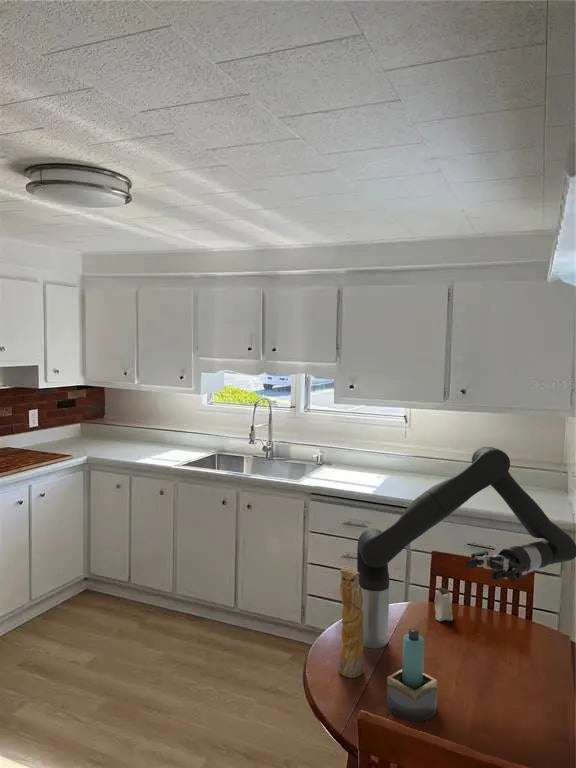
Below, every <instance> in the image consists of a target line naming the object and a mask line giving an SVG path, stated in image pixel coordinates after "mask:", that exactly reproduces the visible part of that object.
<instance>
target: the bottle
mask: <svg viewBox="0 0 576 768" xmlns="http://www.w3.org/2000/svg"><path fill="white" fill-rule="evenodd" d="M424 653H425V638H424V637H423V636H422V635H420V630H419V629H417V628H414V627H412V628H409V629H408V633H405V634H404V635H403V637H402V665H401V666H402V667H401V669H402V684H404V685H406V686H408V687H409V688H411V689H413V690H417V689H418V688H420V687H422V686H423V673H424V658H425V657H424V655H425V654H424Z"/></svg>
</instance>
